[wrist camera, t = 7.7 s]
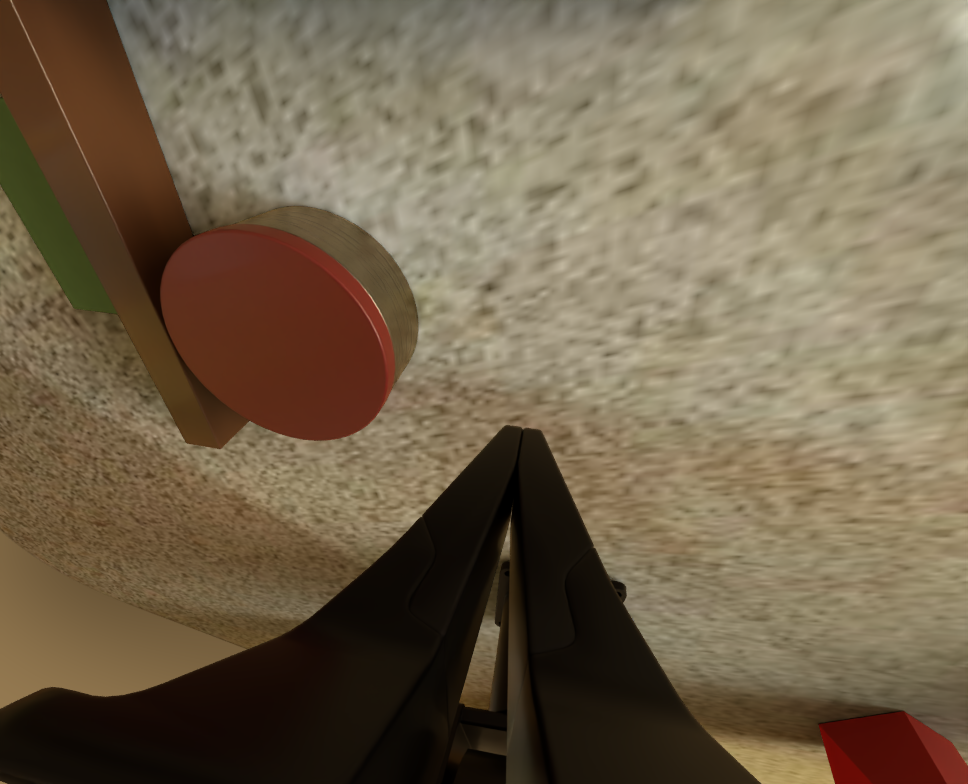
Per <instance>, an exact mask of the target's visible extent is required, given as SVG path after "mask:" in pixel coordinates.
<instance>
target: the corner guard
mask: <svg viewBox="0 0 968 784" xmlns="http://www.w3.org/2000/svg"><path fill="white" fill-rule="evenodd" d="M0 93H1V95H2V97H3V99H4V101H5V103H6V105H7V106H8V108H9V110H10V112H11V114H12V116H13V118H14V120H15V122H16V123H17V125H18V127H19V129H20V131H21V133H22V135H23V137H24V138H25V140H26V142H27V144H28V146H29V148H30V150H31V152H32V154H33V155H34V157H35V159H36V161H37V163H38V165H39V167H40V169H41V171H42V172H43V174H44V176H45V178H46V180H47V182H48V184H49V186H50V187H51V189H52V191H53V193H54V195H55V197H56V199H57V201H58V203H59V204H60V206H61V208H62V210H63V212H64V214H65V216H66V218H67V219H68V221H69V223H70V225H71V227H72V229H73V231H74V233H75V235H76V236H77V238H78V240H79V242H80V244H81V246H82V248H83V250H84V252H85V253H86V255H87V257H88V259H89V261H90V263H91V265H92V267H93V268H94V270H95V272H96V274H97V276H98V278H99V280H100V282H101V284H102V285H103V287H104V289H105V291H106V293H107V295H108V297H109V299H110V300H111V302H112V304H113V306H114V308H115V310H116V312H117V314H118V316H119V317H120V319H121V321H122V323H123V325H124V327H125V329H126V331H127V333H128V334H129V336H130V338H131V340H132V342H133V344H134V346H135V348H136V349H137V351H138V353H139V355H140V357H141V359H142V361H143V363H144V365H145V366H146V368H147V370H148V372H149V374H150V376H151V378H152V380H153V381H154V383H155V385H156V387H157V389H158V391H159V393H160V395H161V397H162V398H163V400H164V402H165V404H166V406H167V408H168V410H169V412H170V413H171V415H172V417H173V419H174V421H175V423H176V425H177V427H178V429H179V430H180V432H181V434H182V436H183V438H184V440H185V442H186V443H187V444H193V445H199V446H205V447H211V448H217V449H221V448H222V447H223V446H224V445H225V444H226V443H227V442H228V441H229V440H230V439H231V438H232V437H233V436H234V435H235V434H236V433H237V432H238V431H239V430H241V429H242V428H243V427H244V426H245V425H246V424H247V423H248V422H249V421H250V420H248V419H246V418H244V417H243V416H241V415H239V414H238V413H237V412H235V411H234V410H232V409H231V408H229V407H228V406H227V405H225V404H224V403H223V402H222V401H220V400H219V399H218V398H217V397H216V396H214V395H213V394H212V393H211V392H210V391H209V390H208V389H207V388H206V387H205V386H204V385H203V384H202V383H201V382H200V381H199V380H198V379H197V377H196V376H195V375H194V374H193V372H192V371H191V370H190V369H189V367H188V366H187V365H186V363H185V362H184V360H183V359H182V357H181V356H180V354H179V353H178V351H177V349H176V347H175V345H174V343H173V342H172V339H171V337H170V335H169V332H168V330H167V328H166V324H165V321H164V318H163V314H162V308H161V302H160V286H161V279H162V274H163V272H164V269H165V266H166V264H167V262H168V260H169V259H170V257H171V256H172V254H173V252H174V251H175V250H176V249H177V248H178V247H179V246H180V245H181V244H182V243H184V242H185V241H187V240H189V239H190V238H192V237H193V234H192V231H191V229H190V226H189V223H188V221H187V218H186V215H185V212H184V210H183V207H182V204H181V202H180V199H179V196H178V193H177V191H176V188H175V185H174V183H173V180H172V177H171V174H170V172H169V169H168V166H167V164H166V161H165V158H164V155H163V153H162V150H161V147H160V145H159V142H158V139H157V137H156V134H155V131H154V128H153V126H152V123H151V120H150V118H149V115H148V112H147V109H146V107H145V104H144V101H143V99H142V96H141V93H140V90H139V88H138V85H137V82H136V80H135V77H134V74H133V71H132V69H131V66H130V63H129V61H128V58H127V55H126V52H125V50H124V47H123V44H122V42H121V39H120V36H119V33H118V31H117V28H116V25H115V23H114V20H113V17H112V14H111V12H110V9H109V6H108V4H107V1H106V0H0Z"/></svg>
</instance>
